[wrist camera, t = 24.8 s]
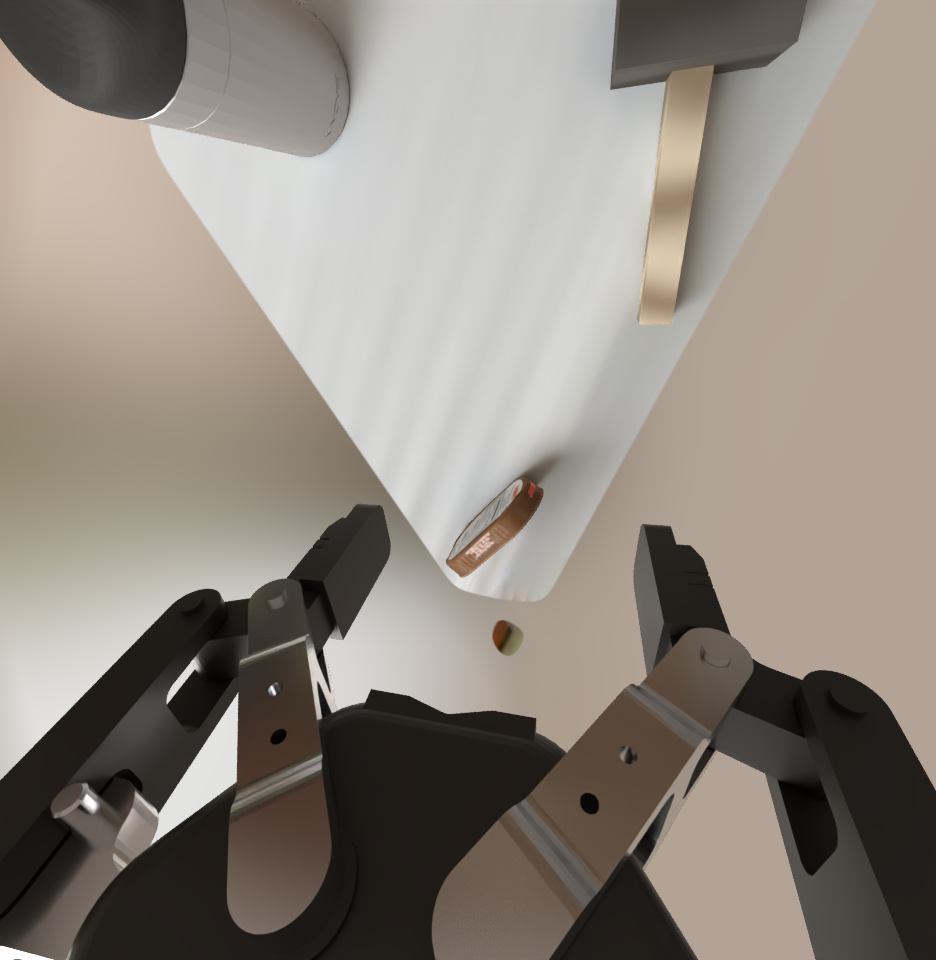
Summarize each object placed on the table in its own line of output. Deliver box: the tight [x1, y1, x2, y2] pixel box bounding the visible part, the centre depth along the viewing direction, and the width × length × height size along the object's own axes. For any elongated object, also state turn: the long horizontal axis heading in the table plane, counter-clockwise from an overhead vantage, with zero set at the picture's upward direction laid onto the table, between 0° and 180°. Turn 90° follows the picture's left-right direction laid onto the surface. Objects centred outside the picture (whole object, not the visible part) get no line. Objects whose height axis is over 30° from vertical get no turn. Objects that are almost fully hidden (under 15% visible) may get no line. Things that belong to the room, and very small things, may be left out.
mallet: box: [610, 0, 807, 325], centre depth 31 cm, size 21×10×5 cm, turn 4°
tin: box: [446, 477, 543, 577], centre depth 49 cm, size 15×3×8 cm, turn 143°
